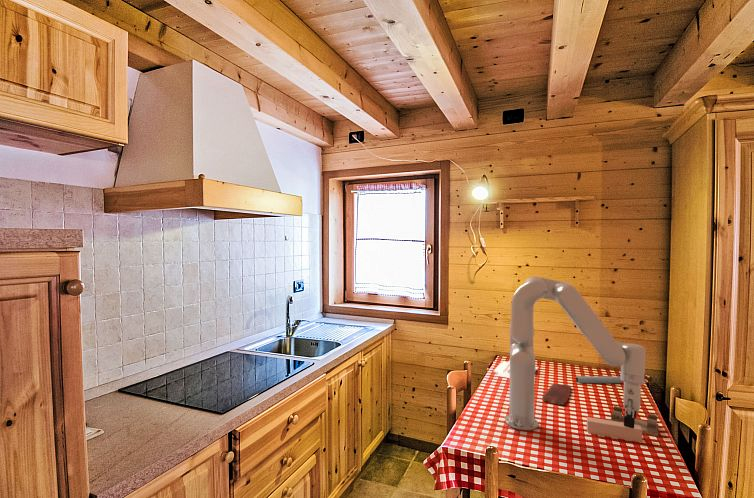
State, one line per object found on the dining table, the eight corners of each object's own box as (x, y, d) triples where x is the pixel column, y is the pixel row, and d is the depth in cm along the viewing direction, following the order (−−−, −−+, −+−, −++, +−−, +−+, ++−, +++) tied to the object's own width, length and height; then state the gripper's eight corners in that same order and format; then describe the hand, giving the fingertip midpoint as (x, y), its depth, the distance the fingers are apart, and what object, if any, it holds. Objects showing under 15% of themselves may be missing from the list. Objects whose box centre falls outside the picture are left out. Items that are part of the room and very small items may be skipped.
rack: (657, 436, 151) (658, 425, 150) (609, 424, 160) (609, 413, 160) (658, 426, 159) (658, 415, 158) (612, 415, 168) (612, 405, 168)
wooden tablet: (564, 407, 177) (564, 403, 177) (541, 401, 182) (541, 398, 182) (573, 388, 199) (573, 384, 199) (552, 383, 204) (552, 380, 204)
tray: (490, 376, 218) (490, 369, 217) (503, 362, 241) (503, 356, 241) (529, 383, 207) (529, 376, 207) (538, 368, 230) (538, 362, 230)
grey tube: (618, 381, 209) (618, 375, 209) (625, 386, 202) (626, 380, 202) (575, 381, 209) (575, 375, 209) (581, 386, 202) (581, 379, 202)
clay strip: (642, 443, 146) (642, 429, 146) (587, 433, 153) (587, 421, 153) (639, 438, 150) (640, 425, 150) (586, 429, 157) (586, 416, 157)
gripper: (643, 386, 138) (640, 434, 139) (645, 373, 152) (643, 416, 153) (618, 381, 143) (615, 427, 143) (622, 369, 157) (620, 411, 157)
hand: (630, 422), depth 148 cm, fingers open, 9 cm apart
